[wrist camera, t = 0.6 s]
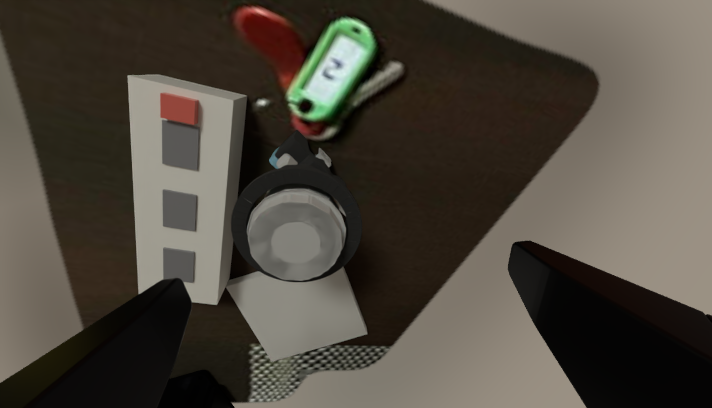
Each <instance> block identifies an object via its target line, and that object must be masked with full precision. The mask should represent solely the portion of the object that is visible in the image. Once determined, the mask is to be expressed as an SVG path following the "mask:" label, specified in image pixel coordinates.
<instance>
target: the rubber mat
mask: <svg viewBox="0 0 712 408" xmlns="http://www.w3.org/2000/svg"><path fill="white" fill-rule="evenodd" d="M226 288H227V290H228V291H229V293H230V295H231V296H232V298H233V299H234V301H235V303H236V304H237V306H238V308H239V309H240V311H241V312H242V314H243V316H244V317H245V319H246V321H247V322H248V324H249V325H250V327H251V329H252V330H253V332H254V334H255V335H256V337H257V338H258V340H259V342H260V343H261V345H262V347H263V348H264V350H265V351H266V353H267V355H268V356H269V358H270V360H271V361H276V360H279V359H283V358H286V357H290V356H293V355H297V354H300V353H303V352H307V351H310V350H314V349H317V348H321V347H324V346H328V345H331V344H335V343H338V342H342V341H345V340H349V339H352V338H356V337H359V336H363V335H366V334H367V327H366V324H365V322H364V319H363V317H362V314H361V311H360V309H359V306H358V303H357V301H356V298H355V295H354V293H353V290H352V287H351V285H350V282H349V280H348V277H347V274H346V272H345V269H344V266H343V267H342V268H341V269H340V270H338V271H337V272H335V273H333V274H332V275H330V276H327V277H325V278H322V279H319V280H315V281H310V282H287V281H281V280H277V279H274V278H271V277H269V276H267V275H265V274H263V273H261V272H259V271H258V272H254V273H251V274H248V275H244V276H241V277H238V278H234V279H231V280H229V281H228V283H227V285H226Z"/></svg>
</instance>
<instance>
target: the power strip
mask: <svg viewBox="0 0 712 408" xmlns="http://www.w3.org/2000/svg"><path fill="white" fill-rule="evenodd" d="M128 90H129V110H130V130H131V150H132V170H133V190H134V210H135V229H136V249H137V269H138V289H139V294H140V293H142V292H143V291H145V290H147V289H148V288H150V287H151V286H153V285H154V284H156V283H157V282H159V281H161V280H163V279H168V278H180V279H181V280H182V281H183V283H184V285H185V287H186V289H187V292H188V294H189V296H190V298H191V301H192V302H196V303H204V304H213V305H217V304H218V302H219V300H220V298H221V295H222V293H223V291H224V289H225V287H226V285H227V282H228V280H229V278H230V269H231V259H232V249H233V237H232V232H231V217H232V212H233V209H234V206H235V203H236V201H237V197H238V187H239V176H240V166H241V156H242V145H243V135H244V125H245V114H246V104H247V96H246V95H242V94H238V93H234V92H229V91H225V90H221V89H217V88H213V87H209V86H204V85H200V84H196V83H192V82H188V81H184V80H179V79H175V78H171V77H167V76H163V75H128Z"/></svg>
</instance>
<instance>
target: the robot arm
mask: <svg viewBox="0 0 712 408" xmlns="http://www.w3.org/2000/svg"><path fill="white" fill-rule="evenodd" d="M508 271H509V275H510V277H511V279H512V281H513V283H514V285H515V287H516V289H517V291H518V293H519V295H520V297H521V299H522V301H523V303H524V305H525V307H526V309H527V311H528V313H529V315H530V317H531V319H532V321H533V323H534V325H535V326H536V328H537V330H538V331H539V333H540V334H541V336H542V338H543V339H544V340H545V342H546V344H547V346H548V347H549V349H550V350H551V352H552V353H553V355H554V356H555V358H556V360H557V361H558V363H559V365H560V366H561V368H562V369H563V371H564V373H565V374H566V376H567V377H568V379H569V381H570V382H571V384H572V385H573V387H574V388H575V390H576V392H577V393H578V395H579V396H580V398H581V400H582V401H583V403H584V404H585V406H586V407H587V408H712V316H711V315H708V314H707V315H705V314H704V313H703V312H701V311H699V310H696V309H694V308H692V307H689V306H687V305H685V304H682V303H680V302H677V301H674V300H672V299H670V298H668V297H665V296H663V295H660V294H658V293H655V292H653V291H650V290H648V289H645V288H643V287H641V286H639V285H636V284H634V283H631V282H629V281H626V280H624V279H621V278H619V277H616V276H614V275H612V274H609V273H607V272H605V271H602V270H600V269H597V268H595V267H593V266H590V265H588V264H585V263H583V262H580V261H578V260H576V259H573V258H571V257H568V256H566V255H564V254H561V253H559V252H556V251H554V250H551V249H549V248H546V247H544V246H542V245H539V244H537V243H534V242H532V241H520V242H515V243H514V244H513V245H512V248H511V253H510V258H509V264H508ZM191 308H192V301H191V298H190V296H189V294H188V292H187V289H186V287H185V285H184V283H183V281H182V280H181V279H180V278H168V279H163V280H161V281H159V282H157V283H156V284H154V285H153V286H151V287H150V288H148V289H147V290H145V291H143V292H142V293H140V294H139V295H137V296H136V297H134V298H132V299H131V300H129V301H128V302H126V303H125V304H123V305H122V306H120V307H118V308H117V309H115V310H114V311H112V312H111V313H109V314H107V315H106V316H104V317H103V318H101V319H100V320H98V321H96V322H95V323H93V324H92V325H90V326H89V327H87V328H86V329H84V330H82V331H81V332H79V333H78V334H76V335H75V336H73V337H71V338H70V339H68V340H67V341H66V342H64V343H62V344H61V345H59V346H57V347H56V348H54V349H53V350H51V351H50V352H48V353H46V354H45V355H43V356H42V357H40V358H39V359H37V360H36V361H34V362H33V363H31V364H29V365H28V366H26V367H25V368H23V369H22V370H20V371H18V372H17V373H15V374H14V375H12V376H11V377H9V378H7V379H6V380H4V381H3V382H1V383H0V408H234V406H233V405H232V403H231V402H230V401H229V400H228V398H227V397H226V396H225V394H224V393H223V392H222V390H221V389H220V388H219V387H218V385H217V384H216V383H215V381H214V380H213V379H212V378H211V376H210V375H209V374H208V372H206V371H204V370H200V371H197V372H193V373H190V374H186V375H183V376H179V377H176V378H172V379H169V377H170V375H171V372H172V370H173V367H174V364H175V361H176V358H177V355H178V352H179V349H180V345H181V342H182V339H183V335H184V332H185V329H186V325H187V322H188V319H189V315H190V312H191Z"/></svg>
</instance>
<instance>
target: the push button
mask: <svg viewBox="0 0 712 408" xmlns="http://www.w3.org/2000/svg"><path fill="white" fill-rule="evenodd" d="M324 155H325V156H326V157H325V156H324ZM269 161H270V163H271V164H272V165H273V166H274V167H275V168H276V169H274V170H271V171H269V172H267V173H264V174H262V175H261V176H259V177H257V178H256V179H255V180H253V181H252V182H251V183H250V184H249V185H248V186H247V187H246V188H245V189H244V190H243V192H242V193H241V195H240V196H239V198H238V199H237V201H236V203H235V206H234V209H233V212H232V217H231V232H232V237H233V240H234V243H235V245H236V247H237V249H238V251H239V252H240V254H241V255H242V256H243V258H244V259H245V260H246V261H247V262H248V263H249V264H250V265H251V266H252V267H254V268H255V269H256V270H258V271H259V272H261V273H263V274H265V275H267V276H269V277H271V278H274V279H277V280H281V281H287V282H310V281H315V280H319V279H322V278H325V277H327V276H330V275H332V274H333V273H335V272H337V271H338V270H340V269H341V268H342V267H343V266H345V265H346V264H347V263H348V262H349V260H350V259H351V258H352V257H353V255H354V254H355V252H356V250H357V248H358V246H359V243H360V240H361V235H362V220H361V215H360V211H359V208H358V205H357V203H356V201H355V199H354V197H353V195H352V194H351V193H350V191H349V190H348V189H347V188H346V184H345V183H344V181H343V180H342V179H341V178H340V177H339V176H336V175H333V173H332V172H331V171H330V169H329V167H330V166H331V159H330V158H329V157H328V156H327V155H326V154H325V152H324V151H323V150H322V149H320V148H319V152H318V154H317V155H316V156H315V155H314V154H313V153H312V152H311V151H310V150H309V146H308V141H307V140H306V138H305V137H304V136H303V135H302V134H301V133H300V132H299V131H298V130H296V131H295V132H294V133H293V134H292V135H291V136H290V137H289V138H288V139H287V140H286V141H285V142H284V143H283V144H282V145H281V146H279V147H278V148H277V149H276V150H275V151H274V153H273V154H272V156H271V158H270V159H269ZM265 192H267V193H266V195H265V198H264V199H263V200H262V201H261V202H260V203H259V204H258V205H257V207H256V208H255V209H254V206H255V201H256V200H257V199H258V198H259V197H260V196H261V195H262V194H264V193H265ZM342 208H343V209H342ZM339 210H340V211H341V212H342V213H343V214H344V215H345V216H346V220H345V224H344V221H343V218H342V215H341V213H340V211H339Z"/></svg>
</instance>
